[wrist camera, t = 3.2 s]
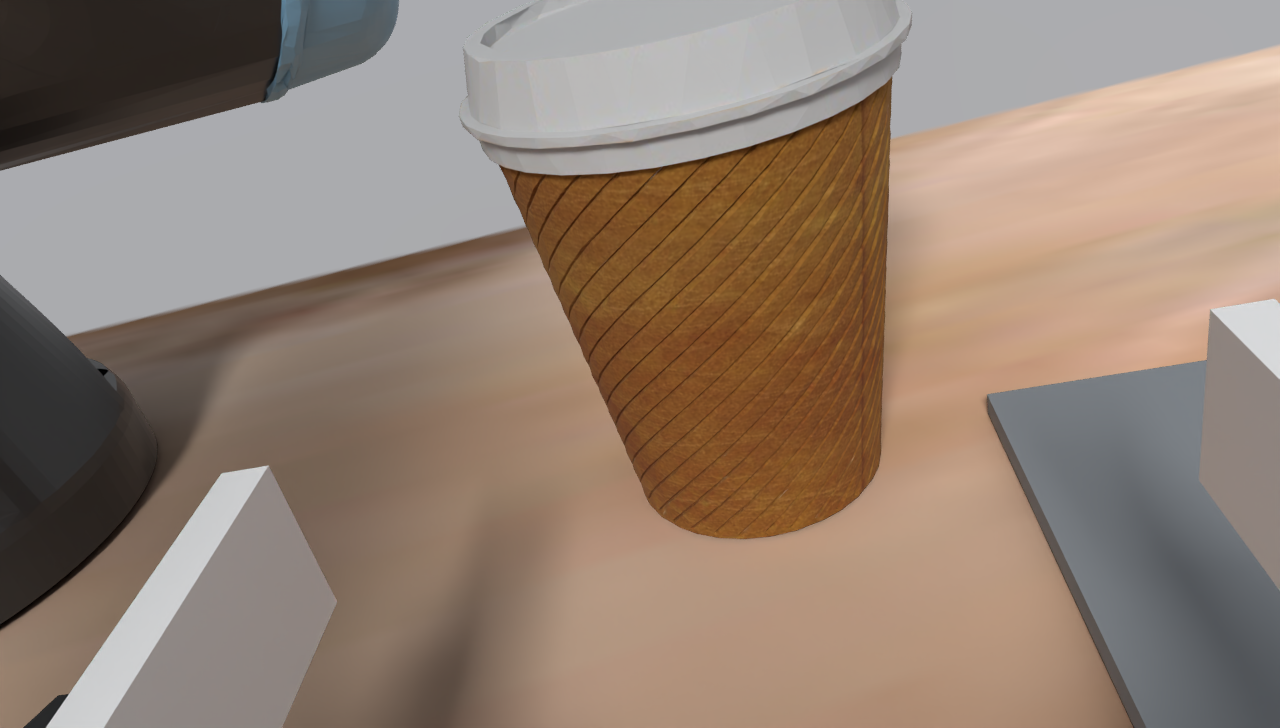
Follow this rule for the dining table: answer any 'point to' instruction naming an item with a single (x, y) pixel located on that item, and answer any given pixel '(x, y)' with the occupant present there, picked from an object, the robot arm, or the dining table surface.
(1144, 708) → the mat
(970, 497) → the dining table surface
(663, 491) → the disposable coffee cup
